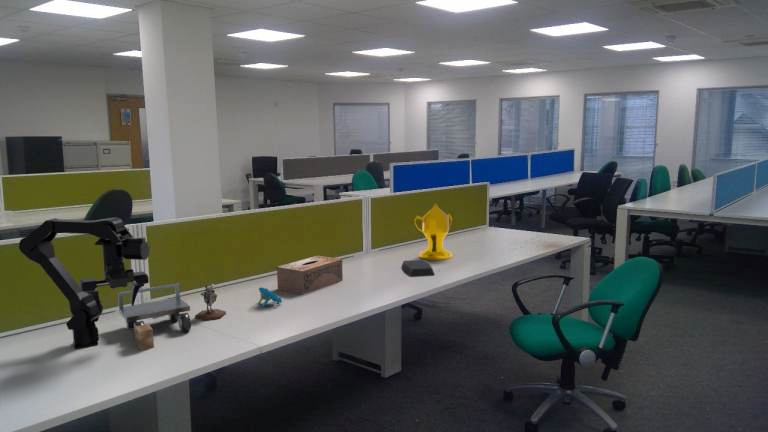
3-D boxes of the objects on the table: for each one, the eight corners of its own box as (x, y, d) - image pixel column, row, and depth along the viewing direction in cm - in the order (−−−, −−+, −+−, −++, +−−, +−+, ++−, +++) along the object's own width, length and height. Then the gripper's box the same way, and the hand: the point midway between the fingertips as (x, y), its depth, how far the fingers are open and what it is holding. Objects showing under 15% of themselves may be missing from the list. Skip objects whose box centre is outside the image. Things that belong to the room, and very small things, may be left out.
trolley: (132, 344, 177) (129, 306, 175) (120, 327, 193) (117, 292, 191) (196, 331, 188) (194, 295, 187) (180, 316, 204) (178, 283, 203)
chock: (140, 350, 172) (138, 331, 172) (136, 344, 177) (134, 326, 176) (154, 347, 175) (152, 329, 174) (149, 341, 180) (148, 323, 179)
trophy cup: (406, 256, 300) (405, 203, 295) (442, 250, 312) (443, 200, 308) (425, 262, 285) (425, 207, 281) (463, 256, 297) (463, 203, 293)
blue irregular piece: (287, 301, 216) (269, 286, 211) (279, 314, 213) (260, 299, 208) (273, 299, 224) (254, 284, 219) (264, 311, 222) (246, 297, 217)
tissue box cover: (318, 276, 260) (317, 255, 258) (342, 281, 252) (342, 259, 250) (277, 289, 239) (276, 266, 237) (303, 295, 231) (302, 271, 229)
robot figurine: (190, 316, 204) (188, 284, 202) (211, 310, 212) (210, 278, 210) (208, 322, 198) (206, 289, 196) (230, 315, 205) (228, 283, 203)
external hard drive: (426, 266, 278) (425, 258, 277) (436, 276, 259) (436, 267, 259) (400, 267, 276) (399, 259, 275) (408, 277, 257) (408, 268, 256)
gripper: (82, 268, 162) (86, 320, 164) (151, 260, 172) (154, 309, 175) (77, 260, 171) (81, 310, 173) (143, 253, 181) (146, 300, 184)
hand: (116, 308), depth 176 cm, fingers open, 9 cm apart
